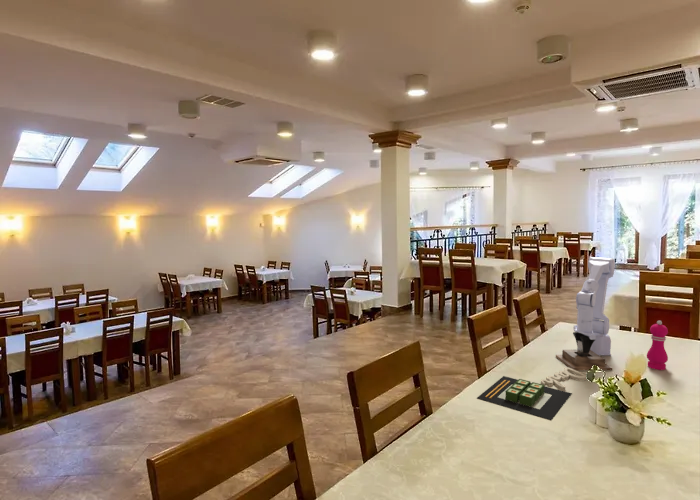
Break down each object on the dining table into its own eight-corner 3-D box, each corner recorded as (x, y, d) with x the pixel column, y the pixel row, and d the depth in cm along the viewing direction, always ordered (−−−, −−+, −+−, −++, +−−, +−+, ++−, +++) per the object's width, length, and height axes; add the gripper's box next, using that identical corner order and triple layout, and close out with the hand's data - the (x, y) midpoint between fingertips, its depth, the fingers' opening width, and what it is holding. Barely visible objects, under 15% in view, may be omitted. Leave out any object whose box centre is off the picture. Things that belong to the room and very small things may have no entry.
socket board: (591, 356, 194) (591, 347, 193) (612, 370, 178) (612, 360, 177) (555, 356, 194) (555, 348, 193) (573, 370, 178) (573, 361, 178)
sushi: (503, 378, 173) (503, 369, 172) (571, 395, 157) (572, 385, 156) (476, 400, 154) (477, 390, 154) (551, 422, 138) (551, 411, 137)
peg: (585, 355, 187) (586, 339, 186) (588, 358, 183) (589, 342, 182) (575, 355, 188) (576, 339, 187) (578, 358, 184) (579, 342, 183)
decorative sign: (567, 366, 179) (591, 374, 171) (566, 370, 179) (591, 378, 171) (535, 380, 166) (561, 389, 158) (535, 384, 166) (561, 393, 158)
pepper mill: (647, 368, 179) (650, 321, 177) (645, 363, 185) (647, 317, 183) (668, 371, 175) (672, 323, 173) (665, 365, 182) (668, 319, 180)
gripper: (567, 315, 191) (565, 345, 192) (584, 324, 177) (582, 356, 178) (583, 315, 191) (581, 345, 192) (601, 324, 176) (599, 356, 178)
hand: (583, 350), depth 185 cm, fingers closed on peg, 4 cm apart
